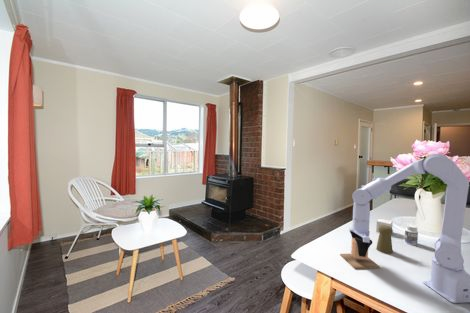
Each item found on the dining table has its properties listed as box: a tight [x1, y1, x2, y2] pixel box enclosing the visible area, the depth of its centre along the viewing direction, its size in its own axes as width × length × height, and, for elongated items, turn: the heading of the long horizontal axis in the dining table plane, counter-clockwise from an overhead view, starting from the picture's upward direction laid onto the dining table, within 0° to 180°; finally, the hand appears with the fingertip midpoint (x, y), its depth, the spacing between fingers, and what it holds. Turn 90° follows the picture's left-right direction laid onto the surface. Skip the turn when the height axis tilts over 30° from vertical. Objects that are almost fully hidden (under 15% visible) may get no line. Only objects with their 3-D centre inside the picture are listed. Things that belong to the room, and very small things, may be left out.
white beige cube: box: [375, 218, 394, 234], centre depth 115 cm, size 6×6×6 cm
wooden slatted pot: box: [350, 237, 369, 259], centre depth 86 cm, size 6×6×6 cm
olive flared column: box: [375, 225, 394, 255], centre depth 95 cm, size 6×6×11 cm
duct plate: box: [339, 253, 381, 270], centre depth 86 cm, size 10×10×4 cm
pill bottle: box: [404, 223, 419, 246], centre depth 102 cm, size 5×5×8 cm
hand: (359, 252), depth 86 cm, fingers closed on wooden slatted pot, 5 cm apart
